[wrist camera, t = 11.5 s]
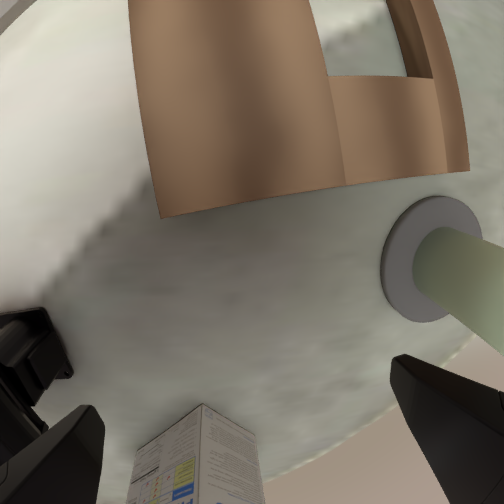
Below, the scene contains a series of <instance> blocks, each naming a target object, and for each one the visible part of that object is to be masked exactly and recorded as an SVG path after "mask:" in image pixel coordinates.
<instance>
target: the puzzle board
mask: <svg viewBox="0 0 504 504" xmlns="http://www.w3.org/2000/svg"><path fill="white" fill-rule="evenodd" d="M386 2H387V5H388V8H389V11H390V14H391V17H392V20H393V23H394V26H395V30H396V33H397V36H398V40H399V44H400V47H401V51H402V55H403V59H404V63H405V67H406V71H407V75H408V77H398V76H328V75H327V70H326V66H325V61H324V57H323V53H322V48H321V44H320V40H319V36H318V32H317V29H316V25H315V21H314V17H313V14H312V10H311V7H310V3H309V0H128V9H129V22H130V33H131V43H132V53H133V62H134V70H135V78H136V86H137V93H138V100H139V107H140V113H141V120H142V126H143V132H144V138H145V143H146V149H147V155H148V160H149V165H150V171H151V176H152V181H153V186H154V191H155V195H156V200H157V205H158V209H159V214H160V218H161V219H163V218H167V217H172V216H177V215H182V214H186V213H191V212H196V211H201V210H206V209H211V208H216V207H221V206H227V205H232V204H237V203H243V202H248V201H254V200H259V199H265V198H271V197H276V196H282V195H288V194H294V193H300V192H307V191H313V190H319V189H326V188H332V187H339V186H346V185H353V184H360V183H367V182H375V181H383V180H390V179H398V178H407V177H415V176H424V175H433V174H443V173H453V172H464V171H470V164H469V153H468V144H467V136H466V128H465V122H464V115H463V109H462V104H461V98H460V93H459V88H458V84H457V79H456V75H455V70H454V66H453V62H452V58H451V55H450V51H449V47H448V44H447V41H446V37H445V34H444V31H443V28H442V25H441V22H440V19H439V16H438V13H437V10H436V7H435V5H434V2H433V0H386Z"/></svg>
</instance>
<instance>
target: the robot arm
mask: <svg viewBox="0 0 504 504" xmlns="http://www.w3.org/2000/svg"><path fill="white" fill-rule="evenodd" d="M40 313H41V314H42V316H41V315H40ZM67 372H68V373H67ZM72 376H73V370H72V368H71V366H70V364H69V362H68V360H67V358H66V356H65V354H64V352H63V350H62V348H61V345H60V343H59V341H58V339H57V336H56V334H55V332H54V329H53V327H52V325H51V322H50V320H49V317H48V315H47V312H46V311H45V310H44V309H43V308H41V307H39V308H33V309H26V310H20V311H14V312H7V313H1V314H0V504H96V500H97V493H98V487H99V482H100V476H101V470H102V460H103V448H104V437H105V425H104V422H103V421H102V419H101V417H100V416H99V414H98V412H97V411H96V409H95V407H94V406H92V405H80V406H79V407H77V408H76V409H75V410H73V411H72V412H71V413H70V414H68V415H67V416H66V417H64V418H63V419H62V420H61V421H59V422H58V423H57V424H55V425H54V426H53V427H52V428H50V429H49V426H48V425H47V424H46V423H45V422H44V421H42V420H41V419H40V417H39V416H38V415H37V414H36V413H35V412H34V410H33V409H32V408H31V406H35V405H36V404H37V402H38V401H39V399H40V397H41V396H42V394H43V393H44V391H45V390H47V389H48V388H49V386H50V385H51V383H52V382H53V380H54V379H69V378H71V377H72ZM390 384H391V387H392V389H393V392H394V394H395V396H396V399H397V401H398V403H399V406H400V408H401V410H402V413H403V415H404V418H405V420H406V422H407V425H408V426H409V428H410V430H411V432H412V434H413V436H414V437H415V439H416V441H417V442H418V445H419V446H420V448H421V450H422V452H423V454H424V455H425V457H426V459H427V461H428V463H429V465H430V467H431V468H432V470H433V472H434V474H435V476H436V478H437V480H438V481H439V483H440V485H441V487H442V489H443V491H444V493H445V495H446V497H447V499H448V500H449V503H450V504H504V392H502V391H499V392H498V390H496V389H494V388H491V387H488V386H486V385H483V384H480V383H478V382H475V381H472V380H470V379H467V378H465V377H462V376H460V375H457V374H455V373H452V372H449V371H447V370H444V369H442V368H439V367H437V366H434V365H432V364H429V363H427V362H424V361H422V360H420V359H417V358H415V357H412V356H410V355H407V354H402V355H399V356H396V357H394V358H393V359H392V362H391V372H390ZM48 429H49V430H48Z"/></svg>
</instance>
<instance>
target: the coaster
mask: <svg viewBox="0 0 504 504" xmlns="http://www.w3.org/2000/svg"><path fill="white" fill-rule="evenodd" d="M440 227H450V228H453V229H456V230H459V231H461V232H464V233H467V234H470V235H472V236H475V237H477V238H480V239H483V238H482V232H481V228H480V225H479V222H478V220H477V218H476V216H475V215H474V213H473V212H472V210H471V209H470V208H469V207H468V206H467V205H465V204H464V203H463V202H461V201H459V200H456V199H453V198H449V197H444V196H432V197H427V198H424V199H422V200H420V201H418V202H416V203H415V204H413V205H412V206H411V207H409V208H408V209H407V210H406V211H405V212H404V213H403V214H402V215H401V216H400V218H399V219H398V220H397V221H396V223H395V225H394V226H393V228H392V229H391V231H390V234H389V236H388V238H387V240H386V243H385V246H384V250H383V254H382V260H381V282H382V287H383V290H384V293H385V296H386V298H387V299H388V301H389V303H390V304H391V305H392V306H393V307H394V308H395V309H396V310H397V311H398V312H399V313H400V314H401V315H402V316H404V317H405V318H407V319H409V320H411V321H414V322H422V323H425V322H432V321H435V320H438V319H440V318H443V317H444V316H446V315H448V314H449V312H447V311H446V310H445V309H443V308H442V307H441V306H439V305H438V304H437V303H435V302H434V301H433V300H431V299H430V298H429V297H427V296H426V295H424V294H423V293H422V292H420V291H419V289H418V288H417V287H416V285H415V283H414V279H413V273H412V268H413V260H414V256H415V253H416V251H417V249H418V247H419V245H420V243H421V242H422V240H423V239H424V238H425V237H426V236H427V235H428V234H429V233H430V232H431V231H433V230H435V229H437V228H440Z"/></svg>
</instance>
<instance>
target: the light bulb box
mask: <svg viewBox="0 0 504 504" xmlns="http://www.w3.org/2000/svg"><path fill="white" fill-rule="evenodd" d="M126 504H265V500H264V493H263V487H262V480H261V473H260V467H259V460H258V453H257V447H256V440H255V436H254V435H253V434H252V433H250V432H248V431H246V430H245V429H243V428H241V427H239V426H238V425H236V424H234V423H233V422H231V421H229V420H228V419H226V418H224V417H223V416H221V415H220V414H218V413H216V412H215V411H213V410H212V409H210V408H208V407H207V406H205V405H204V404H201V405H200V406H199V407H198V408H196V409H195V410H194V411H192V412H191V413H190V414H188V415H187V416H186V417H184V418H183V419H182V420H180V421H179V422H178V423H176V424H175V425H174V426H172V427H171V428H170V429H168V430H167V431H165V432H164V433H163V434H161V435H160V436H158V437H157V438H155V439H154V440H153V441H151V442H150V443H148V444H147V445H145V446H144V447H143V448H141V449H140V450H138V451H137V454H136V458H135V462H134V467H133V471H132V476H131V481H130V486H129V490H128V495H127V500H126Z"/></svg>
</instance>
